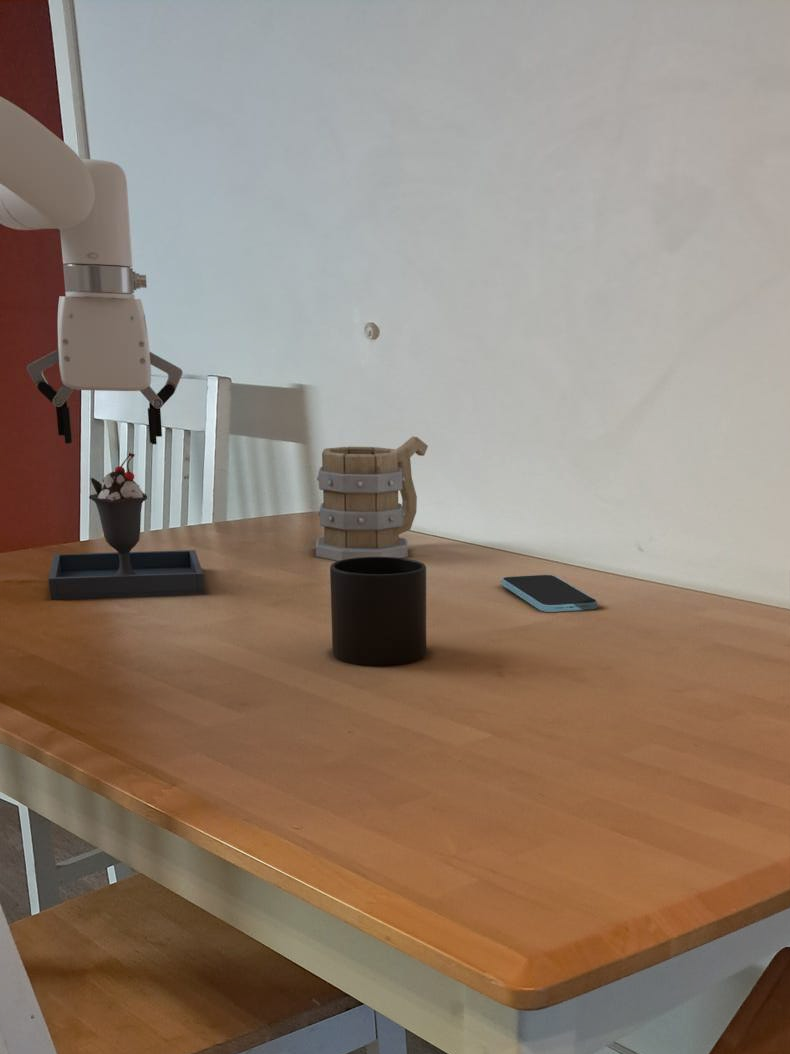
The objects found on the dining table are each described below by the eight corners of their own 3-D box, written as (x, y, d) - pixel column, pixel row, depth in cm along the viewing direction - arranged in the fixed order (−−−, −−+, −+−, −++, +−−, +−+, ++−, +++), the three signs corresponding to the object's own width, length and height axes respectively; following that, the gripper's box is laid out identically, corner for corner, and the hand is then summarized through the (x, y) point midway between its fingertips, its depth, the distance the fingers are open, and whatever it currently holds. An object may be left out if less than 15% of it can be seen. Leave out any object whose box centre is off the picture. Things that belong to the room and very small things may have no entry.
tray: (51, 601, 148) (48, 578, 147) (55, 574, 162) (53, 554, 161) (204, 595, 152) (203, 573, 151) (196, 570, 166) (195, 549, 165)
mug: (408, 636, 136) (408, 550, 132) (436, 664, 125) (436, 572, 122) (321, 640, 134) (318, 553, 130) (341, 670, 123) (339, 576, 119)
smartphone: (543, 605, 146) (498, 577, 159) (543, 615, 147) (498, 585, 159) (600, 602, 148) (552, 574, 161) (600, 611, 149) (551, 582, 162)
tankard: (361, 567, 170) (359, 450, 164) (297, 554, 177) (293, 441, 171) (460, 548, 184) (461, 439, 178) (397, 537, 191) (396, 432, 185)
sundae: (165, 580, 157) (154, 453, 151) (117, 587, 153) (104, 457, 147) (135, 572, 161) (124, 448, 155) (88, 579, 157) (74, 452, 151)
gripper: (176, 287, 149) (184, 440, 156) (20, 281, 145) (35, 439, 151) (179, 286, 142) (188, 446, 149) (16, 280, 138) (32, 445, 145)
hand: (111, 442), depth 150 cm, fingers open, 9 cm apart
